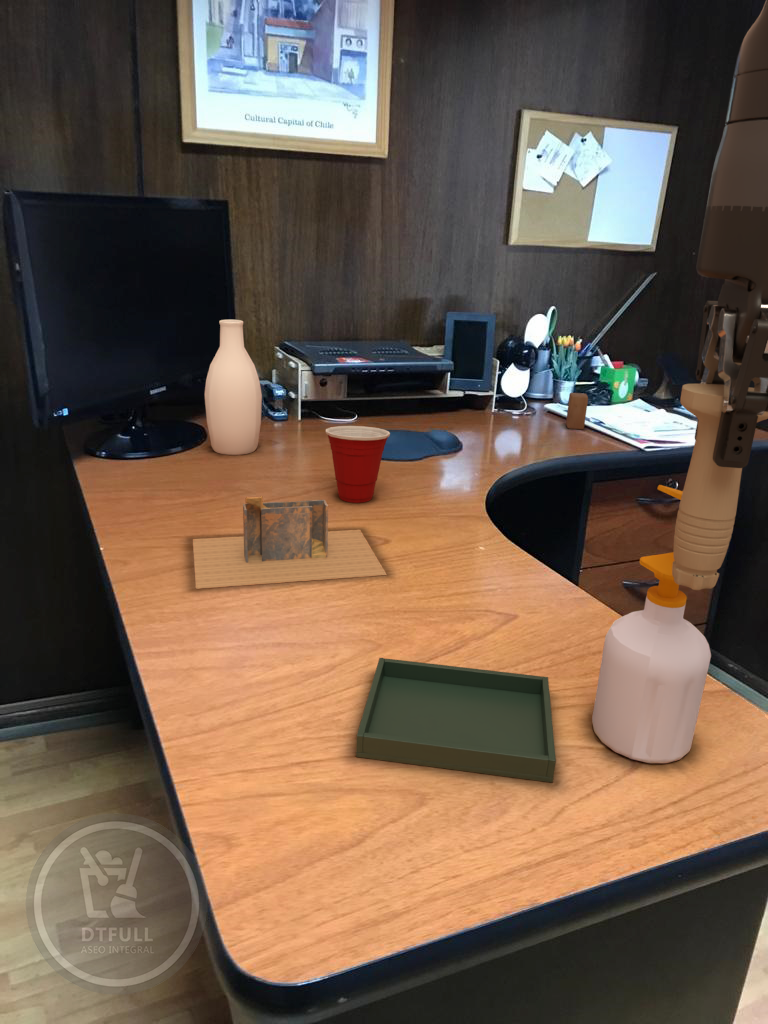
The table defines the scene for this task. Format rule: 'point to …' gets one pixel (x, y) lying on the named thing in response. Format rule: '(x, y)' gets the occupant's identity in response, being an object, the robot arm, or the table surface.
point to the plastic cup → (356, 460)
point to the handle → (705, 495)
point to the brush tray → (459, 720)
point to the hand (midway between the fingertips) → (719, 453)
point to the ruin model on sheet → (283, 548)
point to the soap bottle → (652, 673)
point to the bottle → (233, 395)
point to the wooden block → (576, 410)
